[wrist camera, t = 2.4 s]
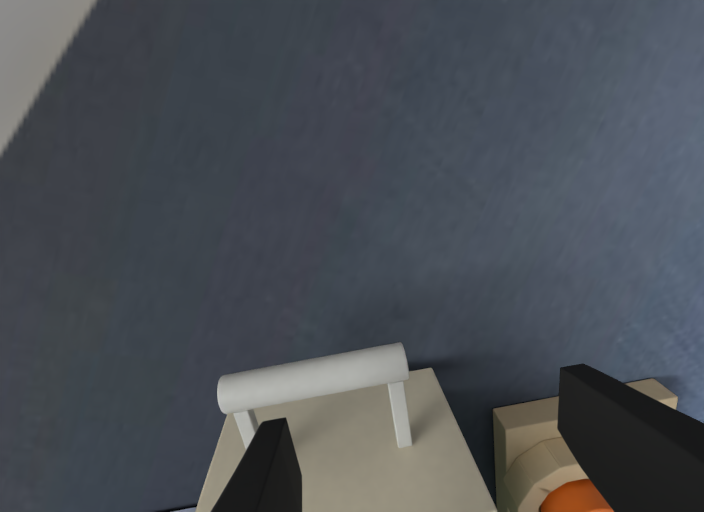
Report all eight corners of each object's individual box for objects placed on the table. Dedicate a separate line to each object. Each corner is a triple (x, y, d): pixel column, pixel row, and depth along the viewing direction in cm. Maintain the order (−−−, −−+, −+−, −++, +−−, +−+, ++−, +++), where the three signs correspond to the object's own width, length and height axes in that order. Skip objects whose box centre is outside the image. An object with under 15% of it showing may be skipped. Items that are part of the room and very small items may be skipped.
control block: (492, 512, 25) (518, 570, 22) (487, 409, 22) (517, 458, 19) (637, 483, 25) (685, 537, 22) (653, 377, 22) (711, 421, 19)
